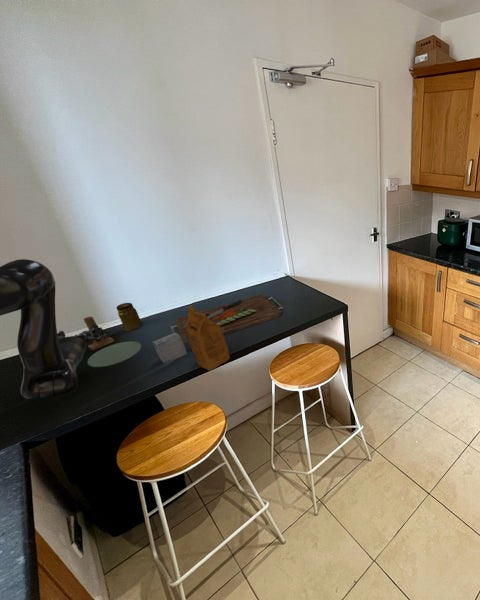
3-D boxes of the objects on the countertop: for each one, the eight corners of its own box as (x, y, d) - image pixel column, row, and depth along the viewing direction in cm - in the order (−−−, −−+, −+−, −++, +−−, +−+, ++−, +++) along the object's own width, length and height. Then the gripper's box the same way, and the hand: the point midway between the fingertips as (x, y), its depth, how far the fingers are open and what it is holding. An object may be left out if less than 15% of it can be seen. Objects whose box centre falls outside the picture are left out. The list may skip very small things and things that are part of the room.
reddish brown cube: (98, 348, 125) (94, 339, 123) (94, 345, 126) (89, 337, 125) (110, 343, 128) (106, 334, 126) (106, 340, 130) (101, 332, 128)
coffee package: (218, 348, 124) (202, 299, 114) (234, 360, 118) (219, 309, 108) (191, 361, 117) (172, 309, 107) (207, 374, 111) (188, 320, 101)
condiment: (123, 329, 137) (111, 305, 131) (146, 321, 143) (136, 298, 137) (128, 335, 133) (116, 310, 127) (151, 327, 139) (141, 303, 133)
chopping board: (178, 350, 123) (175, 343, 122) (168, 323, 142) (166, 317, 140) (288, 313, 149) (287, 308, 148) (268, 294, 167) (267, 289, 166)
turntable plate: (100, 374, 111) (99, 372, 110) (80, 360, 118) (79, 358, 117) (150, 350, 123) (149, 348, 123) (129, 339, 130) (128, 337, 130)
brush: (94, 353, 121) (78, 323, 115) (91, 351, 123) (74, 321, 117) (116, 344, 127) (101, 315, 121) (112, 342, 128) (97, 313, 122)
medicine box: (182, 350, 123) (175, 331, 119) (187, 354, 121) (180, 335, 117) (159, 360, 118) (151, 341, 114) (165, 365, 115) (156, 345, 111)
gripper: (91, 336, 99) (101, 315, 112) (28, 350, 93) (45, 326, 105) (101, 355, 103) (109, 332, 115) (41, 370, 96) (56, 344, 108)
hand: (79, 329), depth 110 cm, fingers open, 8 cm apart
